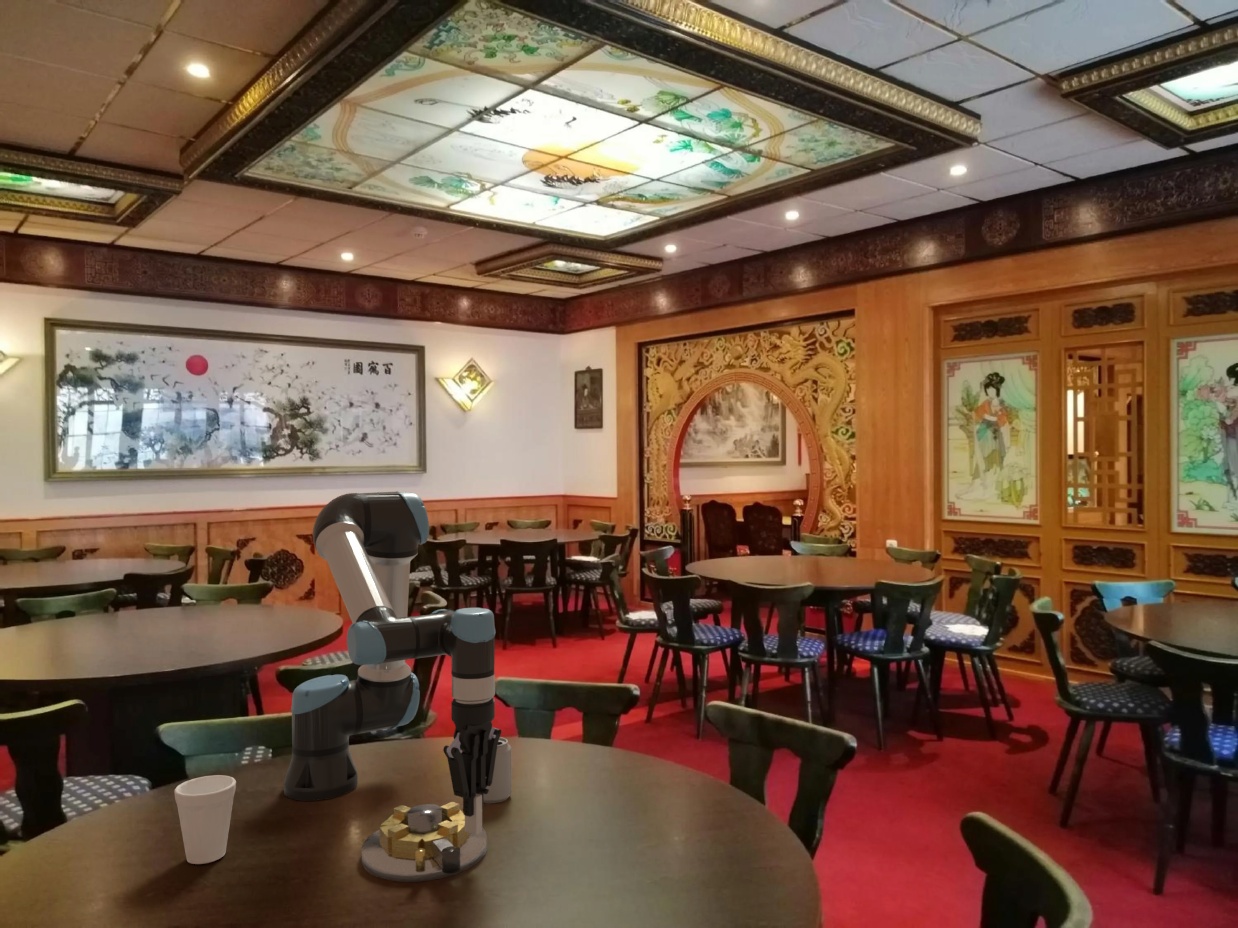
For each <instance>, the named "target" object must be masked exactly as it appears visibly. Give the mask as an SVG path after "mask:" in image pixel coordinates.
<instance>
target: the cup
mask: <svg viewBox="0 0 1238 928" xmlns="http://www.w3.org/2000/svg"><path fill="white" fill-rule="evenodd" d="M236 788H237V781H236V779H235V778H234V777H232V776H229V775H223V774H222V775H220V774H217V775H216V774H215V775H205V776H200V777H196V778H192V779H190V780H186V781H183V782H182V783H180V784H178V785H177V786H176V788H175V789H174V790H173V792H174V799H175V803H176V806H177V811H178V812H177V813H178V818H179V824H180V830H181V834H182V835H181V836H182V840H183V847H184V852H185V857H186V858H185V859H186V861H187V863H189V864H193V865H194V864H195V865H202V864H209V863H212V862H215V861H217V860H219V859H222V857H224V856H225V854H226V851H227V847H228V846H227V845H228V838H229V830H230V824H231V818H232V812H233V811H232V810H233V803H234V798H235V793H236Z"/></svg>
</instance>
